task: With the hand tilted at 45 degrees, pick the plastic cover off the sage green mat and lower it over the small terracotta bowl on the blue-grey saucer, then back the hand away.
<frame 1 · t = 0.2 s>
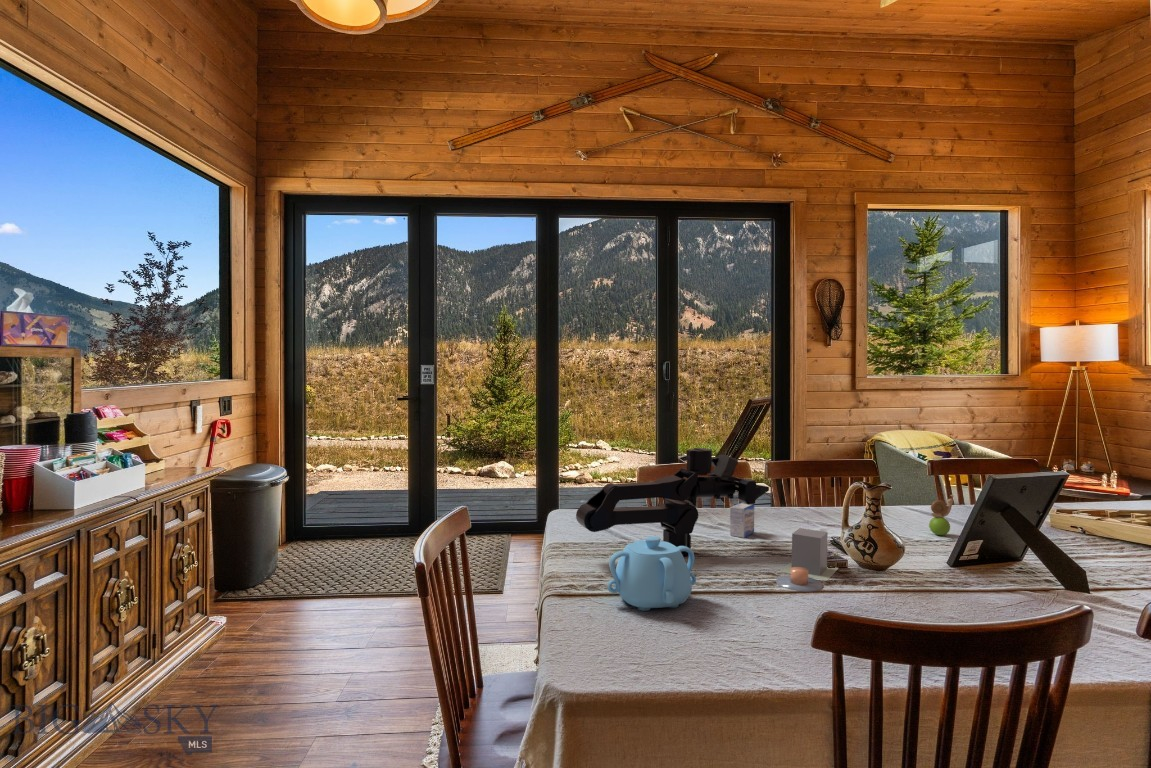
hand: (758, 485, 177), 17 cm above the table, tool horizontal, fingers open, 9 cm apart
medicine box: (742, 535, 188), on the table
cover: (809, 569, 155), resting on mat
snail figurine: (941, 535, 189), on the table
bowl: (799, 585, 145), on the table
decorative pot: (652, 602, 135), on the table
mat: (809, 571, 155), on the table
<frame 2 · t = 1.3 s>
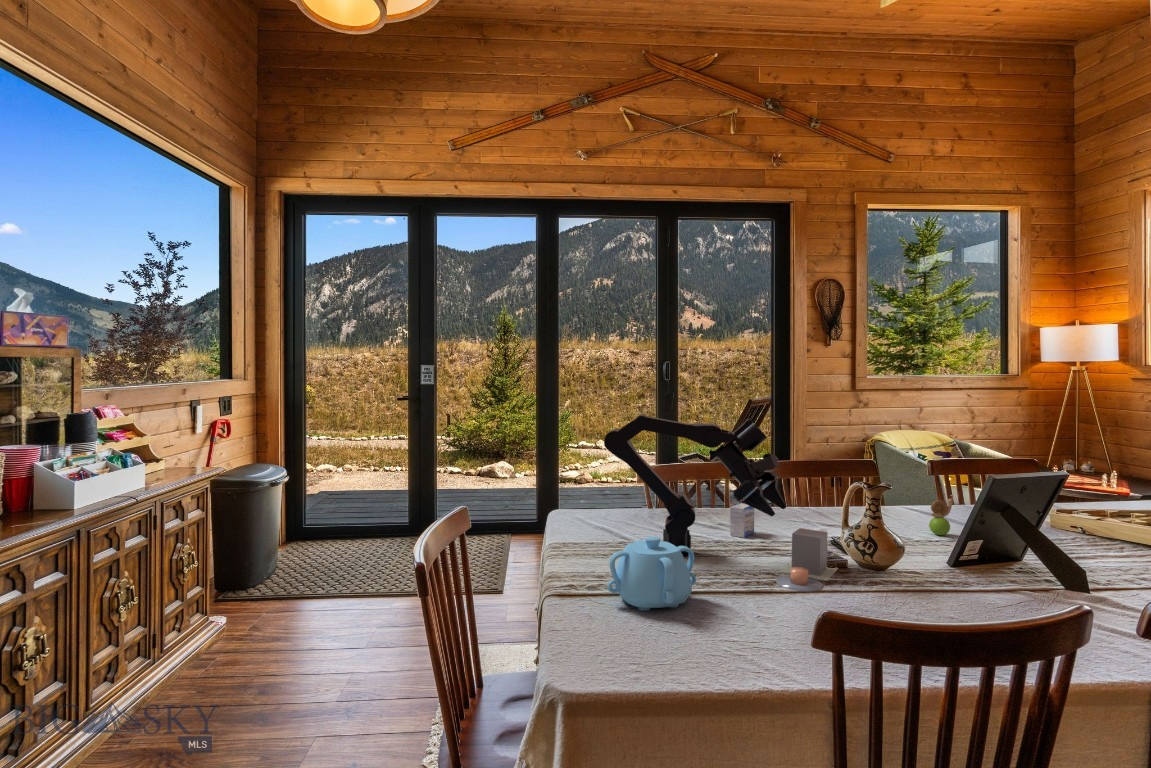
hand: (779, 511, 159), 14 cm above the table, tool tilted 45°, fingers open, 9 cm apart
nothing on the table moved.
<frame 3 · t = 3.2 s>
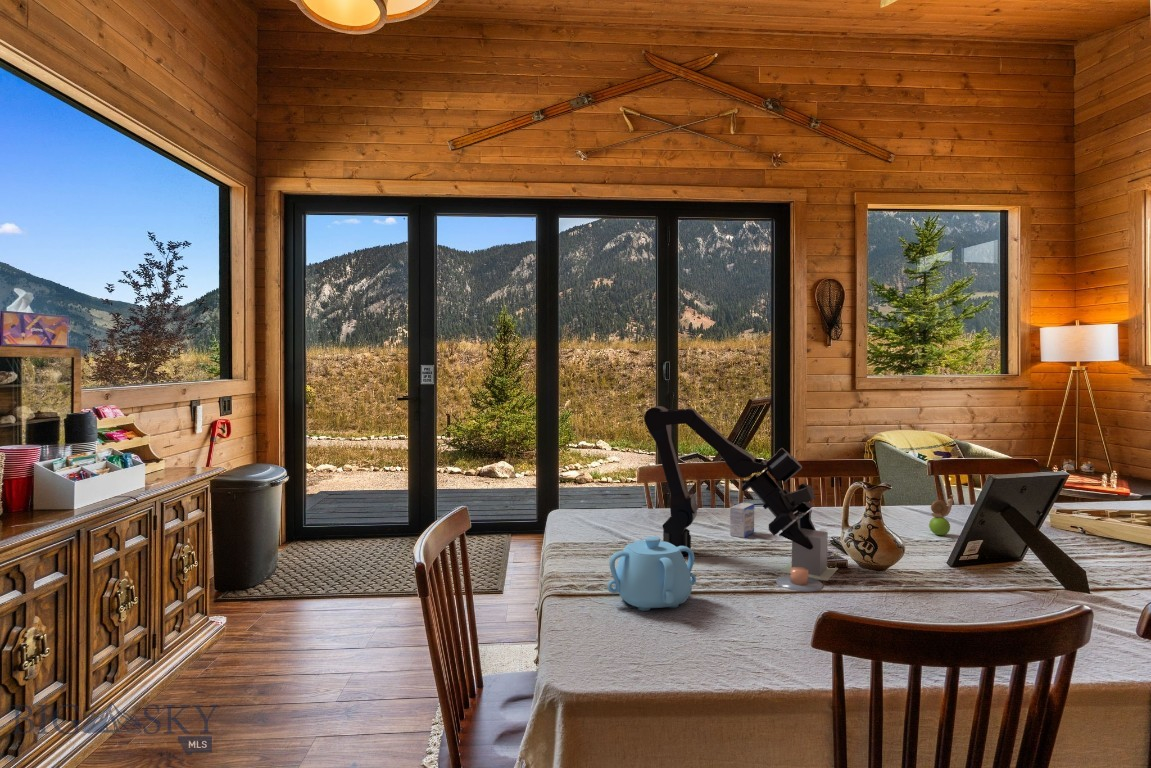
hand: (815, 545, 154), 7 cm above the table, tool tilted 45°, fingers closed on cover, 7 cm apart
cover: (809, 569, 155), resting on mat, touching gripper
everything else where it was.
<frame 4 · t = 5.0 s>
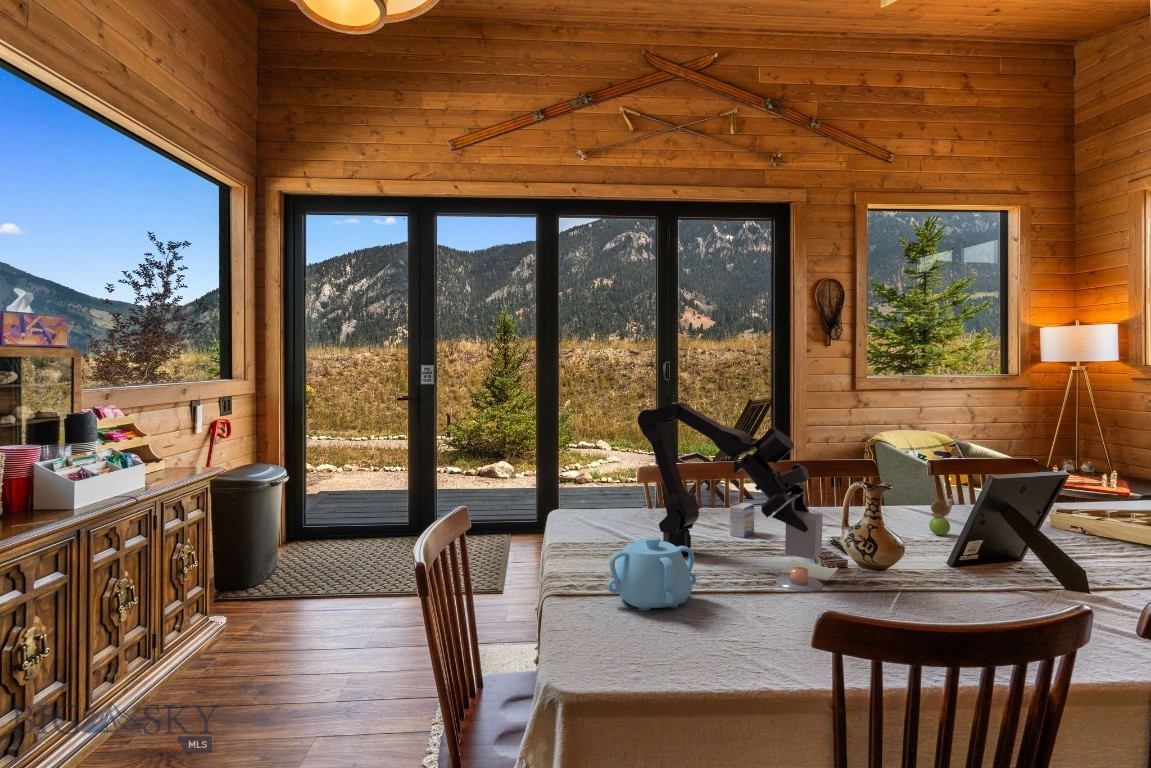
hand: (810, 527, 147), 13 cm above the table, tool tilted 45°, fingers closed on cover, 7 cm apart
cover: (803, 553, 148), point 6 cm above the table, touching gripper
everything else where it was.
when the fingers open (8 cm above the table, at t = 6.8 s): cover drops 1 cm, resting on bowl.
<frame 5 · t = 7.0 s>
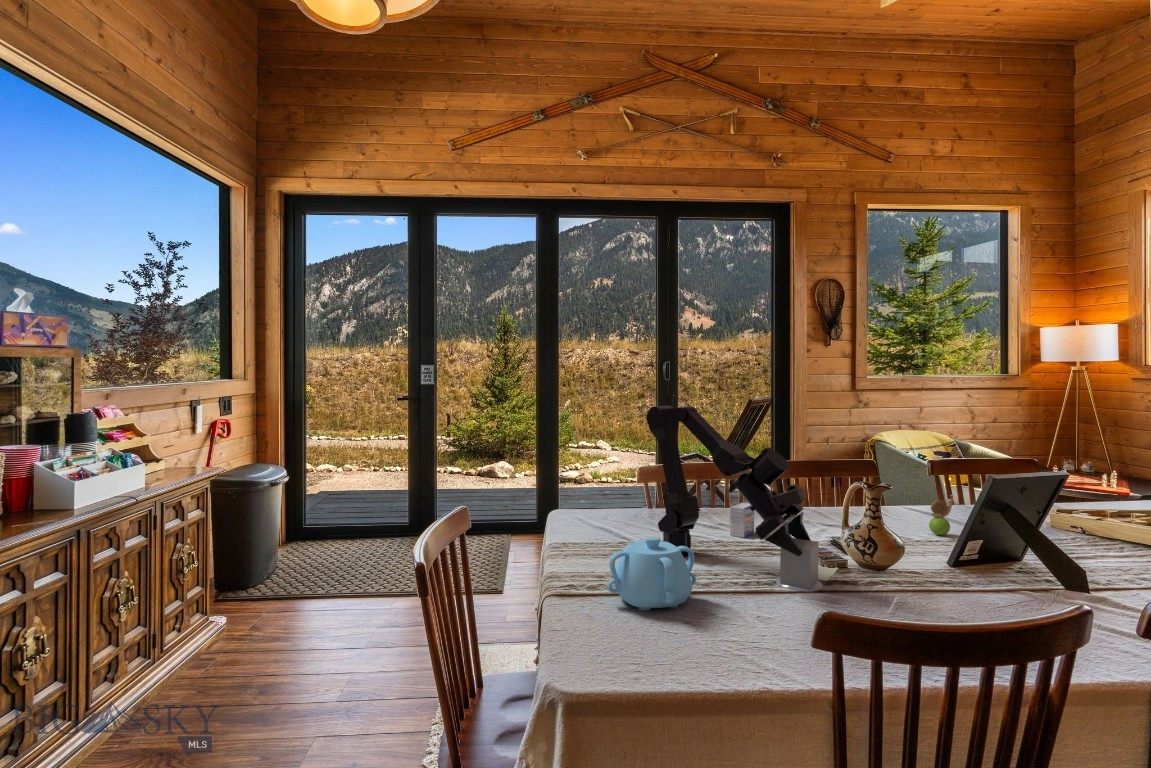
hand: (806, 550, 144), 8 cm above the table, tool tilted 45°, fingers open, 8 cm apart
cover: (799, 582, 145), point 1 cm above the table, touching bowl
everything else where it was.
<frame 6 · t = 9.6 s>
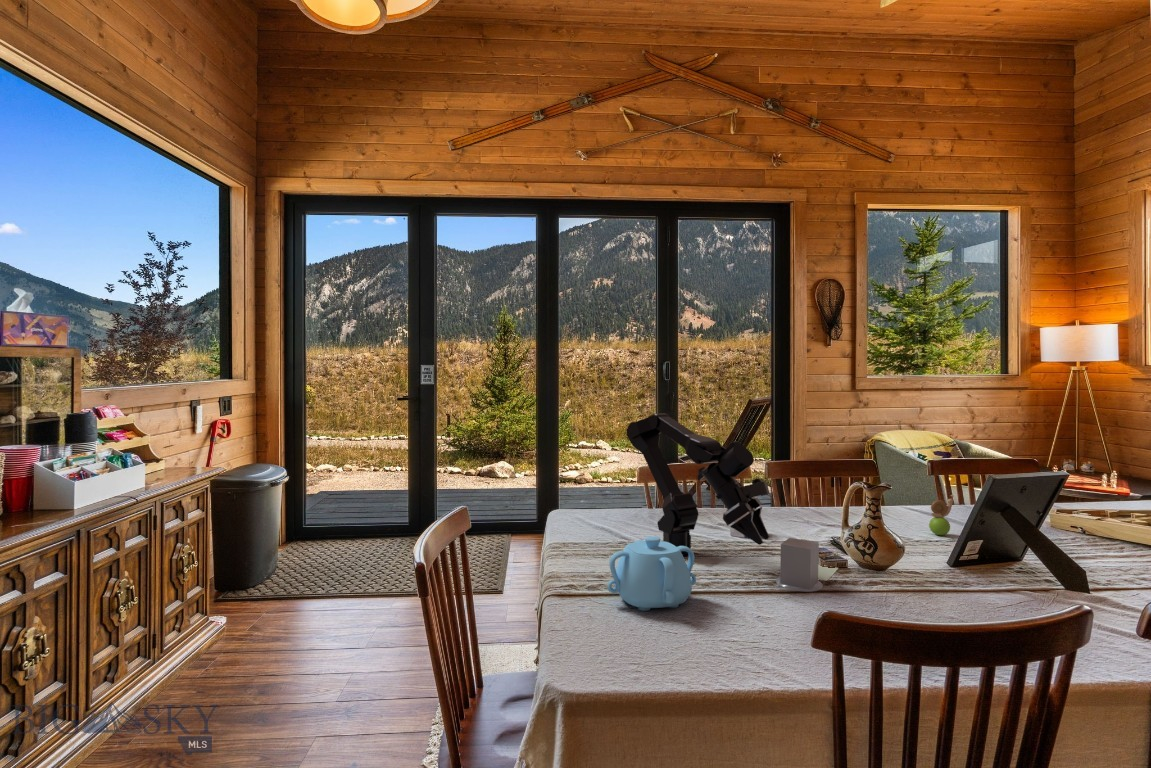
hand: (764, 541, 150), 9 cm above the table, tool tilted 40°, fingers open, 9 cm apart
nothing on the table moved.
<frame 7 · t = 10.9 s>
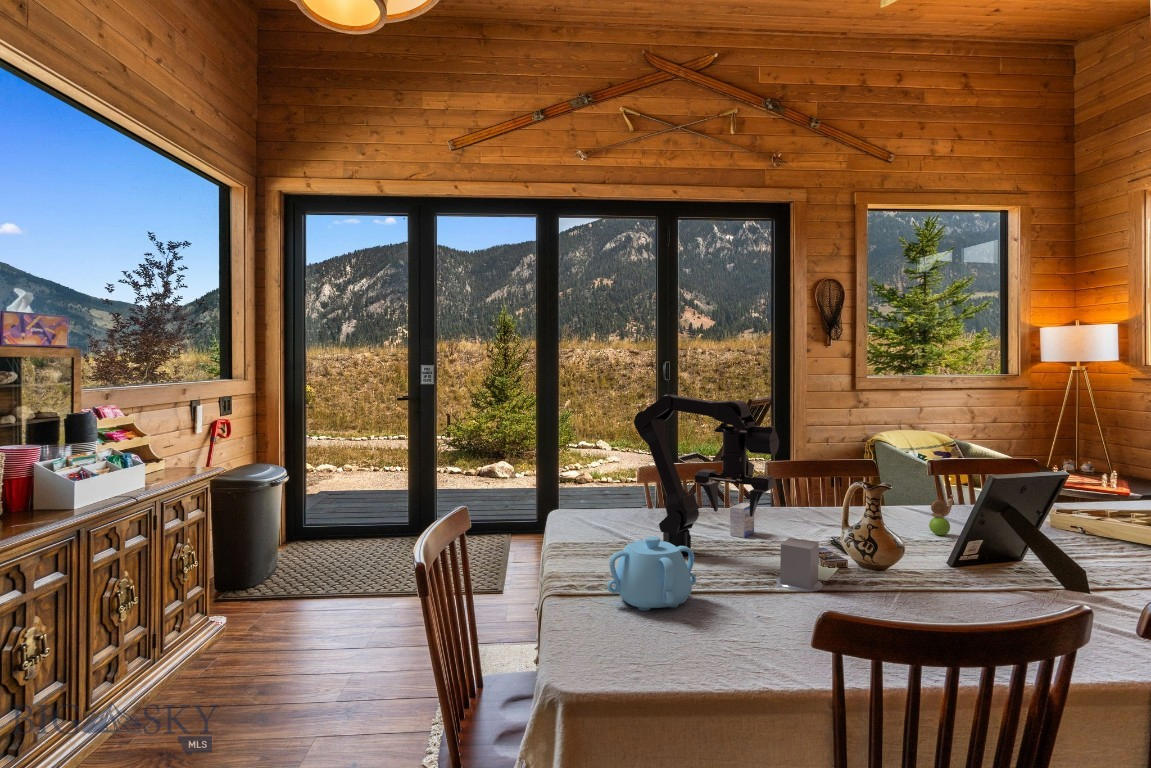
hand: (733, 513, 158), 13 cm above the table, tool pointing down, fingers open, 9 cm apart
nothing on the table moved.
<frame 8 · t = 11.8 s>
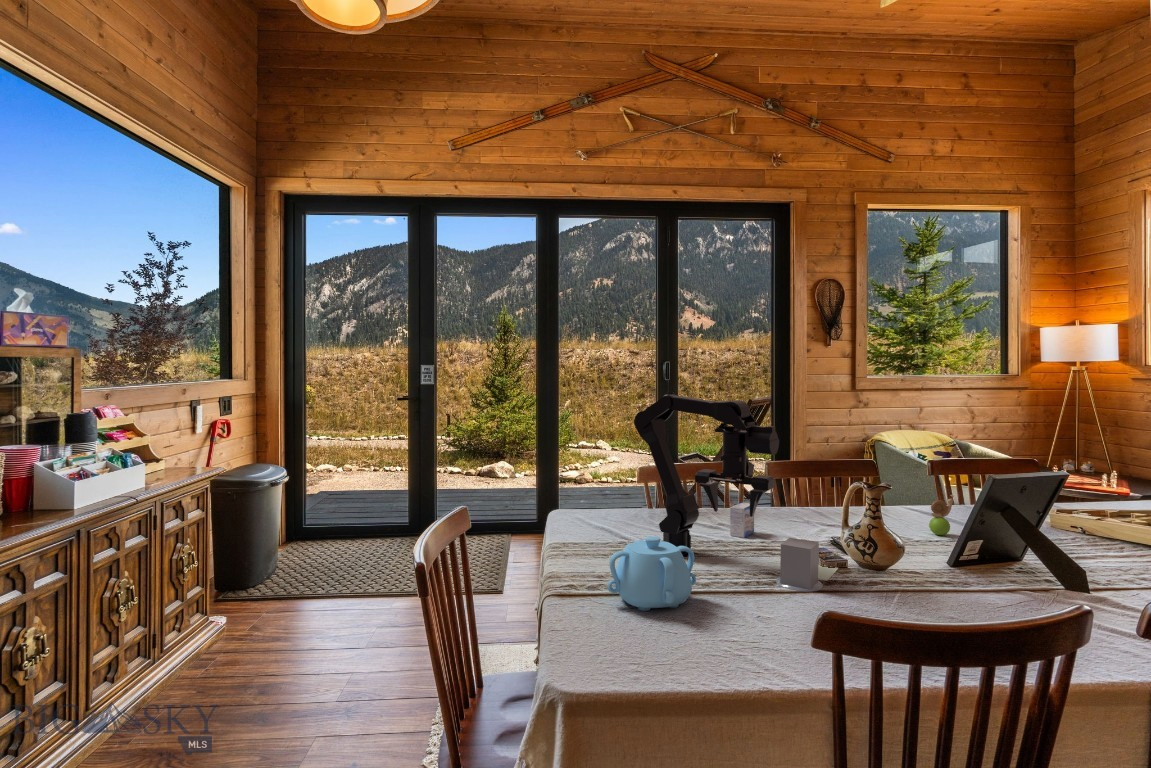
hand: (733, 513, 158), 13 cm above the table, tool pointing down, fingers open, 9 cm apart
nothing on the table moved.
at the end: cover 0.1 cm from the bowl (horizontally); cover tilted 0°; the gripper is holding nothing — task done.
